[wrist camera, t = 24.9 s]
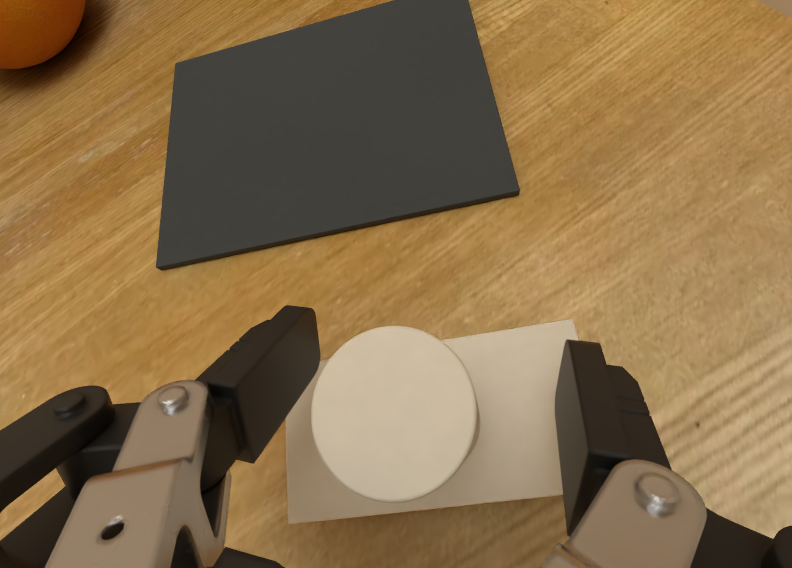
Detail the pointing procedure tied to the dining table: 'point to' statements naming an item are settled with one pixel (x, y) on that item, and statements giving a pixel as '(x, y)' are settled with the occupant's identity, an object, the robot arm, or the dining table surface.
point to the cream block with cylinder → (427, 423)
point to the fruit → (36, 30)
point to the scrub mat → (331, 132)
